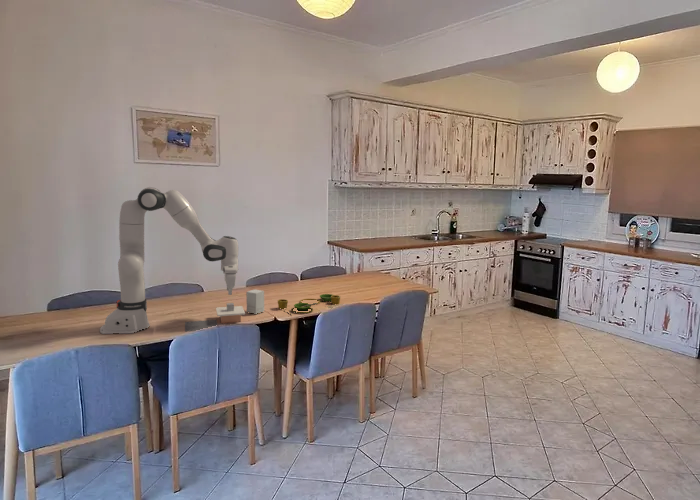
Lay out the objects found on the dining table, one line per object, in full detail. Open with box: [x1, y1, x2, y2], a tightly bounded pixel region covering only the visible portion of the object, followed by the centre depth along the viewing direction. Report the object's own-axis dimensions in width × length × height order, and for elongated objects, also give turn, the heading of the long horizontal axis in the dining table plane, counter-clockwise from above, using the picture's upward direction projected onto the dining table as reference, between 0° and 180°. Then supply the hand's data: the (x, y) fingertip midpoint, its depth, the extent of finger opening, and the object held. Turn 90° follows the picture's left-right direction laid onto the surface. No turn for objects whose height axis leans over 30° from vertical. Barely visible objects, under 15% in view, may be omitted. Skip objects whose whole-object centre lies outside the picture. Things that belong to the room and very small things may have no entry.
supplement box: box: [245, 288, 265, 315], centre depth 264 cm, size 7×7×13 cm
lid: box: [215, 302, 246, 317], centre depth 248 cm, size 14×14×4 cm
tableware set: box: [277, 293, 343, 314], centre depth 281 cm, size 41×28×6 cm
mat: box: [184, 319, 219, 332], centre depth 238 cm, size 16×16×1 cm
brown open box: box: [219, 315, 242, 324], centre depth 248 cm, size 10×10×5 cm
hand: (229, 292), depth 246 cm, fingers open, 8 cm apart
